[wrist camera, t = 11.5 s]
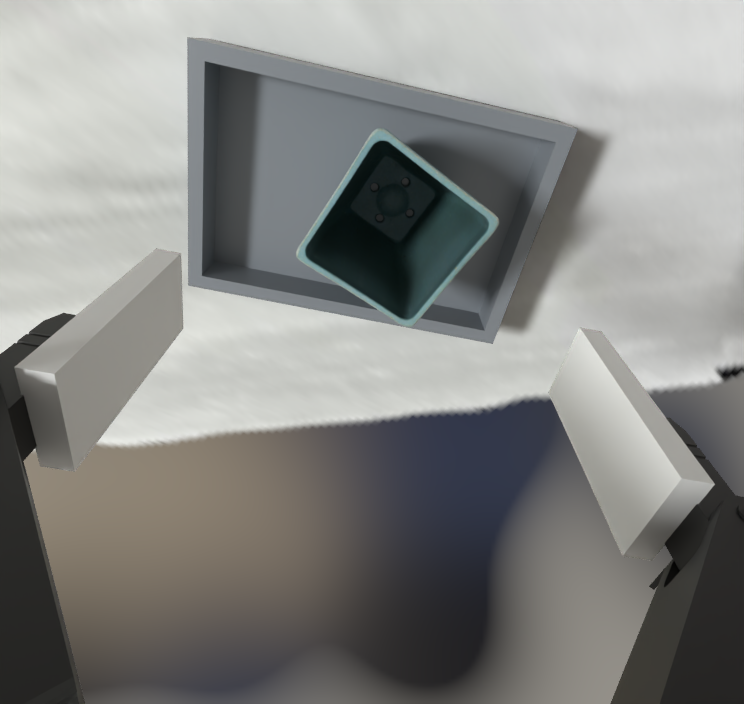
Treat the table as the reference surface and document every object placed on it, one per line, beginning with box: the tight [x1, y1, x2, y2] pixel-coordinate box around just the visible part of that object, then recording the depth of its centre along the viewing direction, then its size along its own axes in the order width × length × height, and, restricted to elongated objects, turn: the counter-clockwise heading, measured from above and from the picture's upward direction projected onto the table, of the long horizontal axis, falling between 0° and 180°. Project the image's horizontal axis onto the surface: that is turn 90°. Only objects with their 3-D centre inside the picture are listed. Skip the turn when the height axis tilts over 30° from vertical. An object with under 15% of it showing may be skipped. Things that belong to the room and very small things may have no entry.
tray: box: [187, 37, 578, 344], centre depth 35 cm, size 24×16×4 cm, turn 79°
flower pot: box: [296, 128, 499, 327], centre depth 32 cm, size 9×9×9 cm
